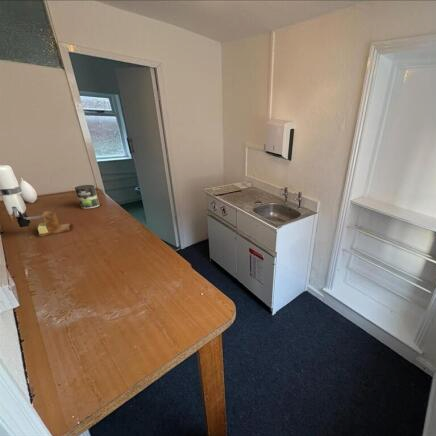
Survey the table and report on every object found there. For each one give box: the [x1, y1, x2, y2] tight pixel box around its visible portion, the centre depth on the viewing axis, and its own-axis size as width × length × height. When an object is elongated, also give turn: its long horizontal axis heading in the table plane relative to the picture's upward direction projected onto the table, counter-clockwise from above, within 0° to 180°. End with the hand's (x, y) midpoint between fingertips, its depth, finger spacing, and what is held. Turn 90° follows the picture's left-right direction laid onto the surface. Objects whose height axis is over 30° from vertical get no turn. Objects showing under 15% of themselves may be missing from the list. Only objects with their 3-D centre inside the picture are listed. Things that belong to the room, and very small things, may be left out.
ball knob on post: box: [25, 212, 53, 220], centre depth 122 cm, size 13×3×3 cm, turn 129°
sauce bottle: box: [19, 177, 38, 204], centre depth 161 cm, size 8×8×18 cm
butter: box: [37, 225, 48, 234], centre depth 123 cm, size 3×4×3 cm
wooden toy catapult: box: [37, 209, 71, 237], centre depth 126 cm, size 12×9×11 cm
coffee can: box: [74, 184, 100, 210], centre depth 160 cm, size 10×10×14 cm
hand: (25, 224), depth 120 cm, fingers closed on ball knob on post, 3 cm apart
